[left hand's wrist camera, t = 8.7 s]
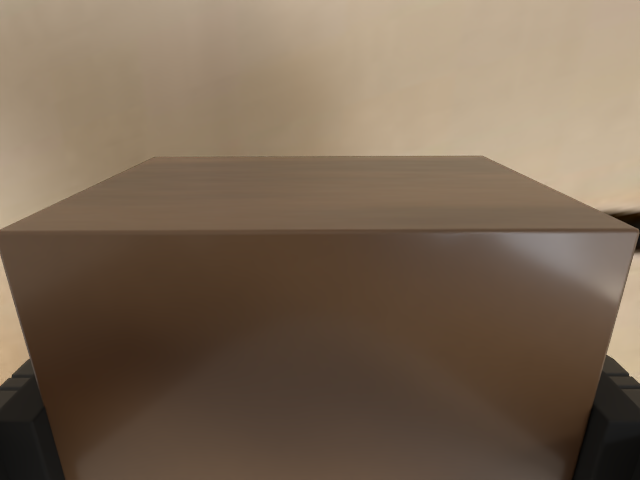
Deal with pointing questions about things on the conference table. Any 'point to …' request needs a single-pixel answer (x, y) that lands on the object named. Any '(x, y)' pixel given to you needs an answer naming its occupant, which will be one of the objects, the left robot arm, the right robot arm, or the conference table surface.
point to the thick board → (318, 319)
